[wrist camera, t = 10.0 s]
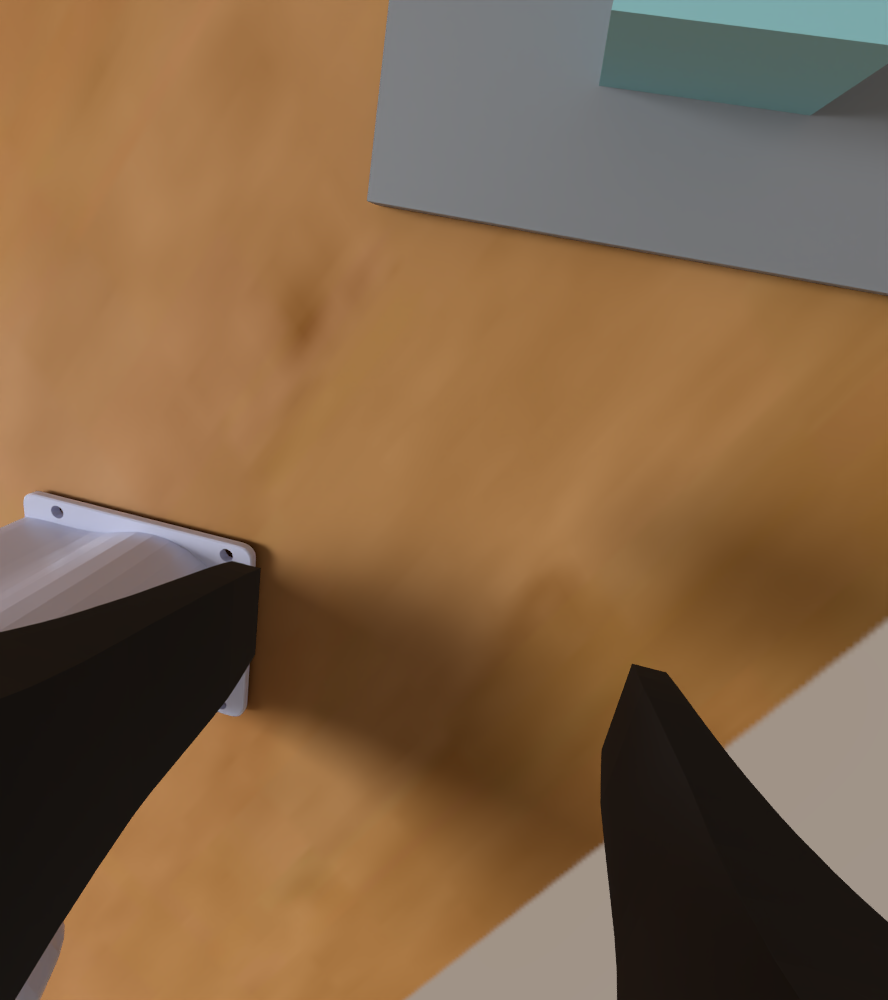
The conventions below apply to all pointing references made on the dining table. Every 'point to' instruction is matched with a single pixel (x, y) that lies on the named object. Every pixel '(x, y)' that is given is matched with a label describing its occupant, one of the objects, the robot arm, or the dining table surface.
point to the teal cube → (746, 49)
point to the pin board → (621, 148)
